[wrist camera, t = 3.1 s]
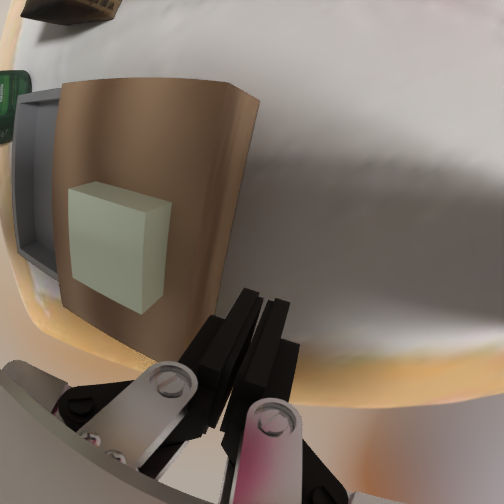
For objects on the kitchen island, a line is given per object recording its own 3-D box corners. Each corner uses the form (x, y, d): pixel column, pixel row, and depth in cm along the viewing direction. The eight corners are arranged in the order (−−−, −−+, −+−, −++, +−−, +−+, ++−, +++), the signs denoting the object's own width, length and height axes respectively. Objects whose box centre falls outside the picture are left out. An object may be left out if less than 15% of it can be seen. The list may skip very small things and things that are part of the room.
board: (259, 101, 14) (228, 82, 10) (211, 329, 21) (181, 373, 16) (114, 88, 16) (62, 83, 11) (101, 279, 22) (62, 306, 18)
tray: (105, 89, 16) (76, 86, 13) (94, 275, 23) (71, 289, 20) (41, 94, 18) (18, 95, 15) (37, 243, 24) (17, 253, 22)
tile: (172, 202, 12) (145, 213, 10) (163, 295, 14) (141, 314, 12) (96, 181, 13) (68, 188, 11) (95, 263, 15) (72, 277, 13)
